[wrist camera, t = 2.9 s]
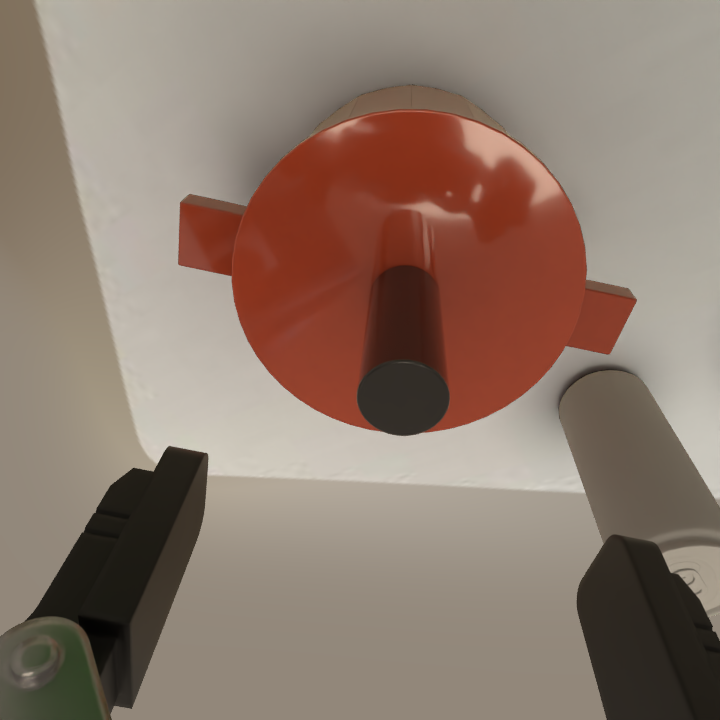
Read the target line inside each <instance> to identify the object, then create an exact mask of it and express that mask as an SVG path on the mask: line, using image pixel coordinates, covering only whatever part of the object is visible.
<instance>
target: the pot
mask: <svg viewBox="0 0 720 720" xmlns="http://www.w3.org/2000/svg"><path fill="white" fill-rule="evenodd" d="M393 107H429V108H436V109H443V110H449V111H454V112H457V113H461V114H464V115H467V116H471V117H474V118H477V119H480V120H482V121H484V122H486V123H488V124H490V125H492V126H495V127H497V128H499V129H501V130H503V131H504V132H506V130H505V129H504V128H503V127H502V126H501V125H500V124H499V123H497V122H496V121H495V120H493V119H492V118H491V117H490V116H489V115H488V114H486V113H485V112H484V111H483V110H482V109H480V108H479V107H477V106H476V105H474V104H473V103H471V102H470V101H469V100H468V99H466V98H465V97H463V96H461V95H457V94H453V93H450V92H447V91H444V90H441V89H437V88H431V87H425V86H417V85H413V84H412V85H405V86H397V87H389V88H384V89H380V90H377V91H373V92H370V93H367V94H362V95H360V96H358V97H356V98H355V99H353V100H352V101H351V102H349V103H347V104H346V105H344V106H342V107H341V108H339V109H338V110H337V111H336V112H334V113H333V114H332V115H331V116H330V117H328V118H327V119H326V120H324V121H323V122H321V123H320V124H319V125H318V126H317V127H316V129H315V130H314V132H313V133H312V134H314V133H316V132H317V131H319V130H320V129H322V128H324V127H326V126H328V125H331V124H333V123H335V122H338V121H340V120H342V119H344V118H347V117H350V116H354V115H357V114H361V113H364V112H368V111H372V110H378V109H386V108H393ZM506 133H507V132H506ZM312 134H311V135H312ZM507 134H508V133H507ZM246 208H247V206H243V205H238V204H234V203H229V202H224V201H220V200H215V199H211V198H206V197H201V196H197V195H192V194H189V195H188V196H186V197H185V198H184V199H183V200H182V201H181V202H180V224H179V257H178V264H179V265H181V266H186V267H191V268H196V269H200V270H205V271H210V272H215V273H219V274H224V275H229V276H232V256H233V250H234V243H235V238H236V235H237V231H238V228H239V225H240V222H241V218H242V216H243V214H244V212H245V210H246ZM636 301H637V299H636V298H635V296H634V295H633V294H632V292H631V291H630V290H629V289H628V288H624V287H619V286H614V285H610V284H605V283H600V282H596V281H591V280H586V287H585V294H584V299H583V303H582V308H581V312H580V315H579V317H578V320H577V323H576V325H575V328H574V331H573V333H572V335H571V337H570V339H569V341H568V342H567V344H566V346H569V347H574V348H579V349H584V350H588V351H593V352H598V353H603V354H608V355H609V354H610V353H611V351H612V349H613V347H614V345H615V343H616V341H617V339H618V337H619V335H620V333H621V331H622V329H623V327H624V325H625V323H626V321H627V319H628V317H629V315H630V313H631V311H632V309H633V307H634V305H635V304H636Z"/></svg>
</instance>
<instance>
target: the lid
mask: <svg viewBox="0 0 720 720" xmlns="http://www.w3.org/2000/svg"><path fill="white" fill-rule="evenodd" d="M586 273H587V265H586V252H585V244H584V240H583V236H582V231H581V227H580V224H579V221H578V219H577V216H576V214H575V211H574V209H573V206H572V204H571V202H570V200H569V198H568V197H567V195H566V193H565V192H564V190H563V188H562V187H561V185H560V183H559V182H558V180H557V179H556V178H555V177H554V176H553V174H552V173H551V172H550V171H549V169H548V168H547V167H546V166H545V165H544V163H543V162H542V161H541V160H540V159H539V158H538V157H537V156H536V155H535V154H533V153H532V152H531V151H530V150H529V149H528V148H527V147H526V146H525V145H523V144H522V143H521V142H519V141H518V140H516V139H515V138H513V137H512V136H510V135H509V134H507V133H506V132H504V131H503V130H501V129H499V128H497V127H495V126H492V125H490V124H488V123H486V122H484V121H482V120H480V119H477V118H474V117H471V116H467V115H464V114H461V113H457V112H454V111H449V110H443V109H436V108H429V107H393V108H386V109H378V110H372V111H368V112H364V113H361V114H357V115H354V116H350V117H347V118H344V119H342V120H340V121H338V122H335V123H333V124H331V125H328V126H326V127H324V128H322V129H320V130H319V131H317V132H316V133H314V134H312V135H311V136H309V137H307V138H306V139H304V140H303V141H301V142H300V143H299V144H298V145H296V146H295V147H294V148H293V149H292V150H290V151H289V152H288V153H287V154H286V155H284V156H283V157H282V158H281V159H280V161H279V162H278V163H277V164H276V165H275V166H274V167H273V168H272V169H271V171H270V172H269V173H268V174H267V175H266V176H265V178H264V179H263V181H262V182H261V184H260V185H259V187H258V188H257V190H256V191H255V193H254V194H253V196H252V197H251V199H250V201H249V203H248V206H247V208H246V210H245V212H244V214H243V216H242V218H241V222H240V225H239V228H238V231H237V235H236V238H235V243H234V250H233V256H232V288H233V295H234V302H235V306H236V310H237V313H238V317H239V321H240V323H241V326H242V328H243V330H244V333H245V335H246V337H247V340H248V342H249V343H250V345H251V347H252V348H253V350H254V352H255V354H256V355H257V357H258V358H259V360H260V361H261V362H262V364H263V365H264V366H265V367H266V369H267V370H268V371H269V373H270V374H271V375H272V376H273V377H274V378H275V379H276V380H277V381H278V382H279V383H280V384H281V385H282V386H283V387H284V388H285V389H287V390H288V391H289V392H290V393H292V394H293V395H294V396H295V397H297V398H298V399H299V400H301V401H302V402H304V403H305V404H307V405H309V406H310V407H312V408H313V409H315V410H317V411H319V412H321V413H323V414H325V415H327V416H329V417H331V418H333V419H336V420H339V421H341V422H344V423H347V424H350V425H353V426H357V427H361V428H365V429H369V430H375V431H382V432H385V433H388V434H392V435H398V436H409V435H416V434H419V433H425V432H433V431H440V430H446V429H450V428H454V427H458V426H462V425H465V424H469V423H471V422H474V421H476V420H479V419H481V418H484V417H487V416H489V415H490V414H492V413H494V412H496V411H498V410H500V409H502V408H504V407H506V406H507V405H509V404H510V403H512V402H513V401H515V400H516V399H518V398H519V397H521V396H522V395H523V394H524V393H525V392H527V391H528V390H529V389H530V388H531V387H532V386H534V385H535V384H536V383H537V382H538V381H539V380H540V379H541V378H542V377H543V376H544V375H545V373H546V372H547V371H548V370H549V369H550V368H551V367H552V365H553V364H554V363H555V361H556V360H557V358H558V357H559V356H560V354H561V353H562V351H563V350H564V348H565V346H566V344H567V342H568V341H569V339H570V337H571V335H572V333H573V331H574V328H575V325H576V323H577V320H578V317H579V315H580V312H581V308H582V303H583V299H584V294H585V287H586Z"/></svg>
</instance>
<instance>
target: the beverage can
mask: <svg viewBox="0 0 720 720" xmlns="http://www.w3.org/2000/svg"><path fill="white" fill-rule="evenodd" d="M559 418H560V421H561V424H562V426H563V429H564V432H565V435H566V438H567V441H568V444H569V446H570V449H571V452H572V455H573V458H574V461H575V463H576V466H577V469H578V472H579V475H580V478H581V481H582V483H583V486H584V489H585V492H586V495H587V498H588V501H589V503H590V506H591V509H592V512H593V515H594V517H595V520H596V523H597V526H598V529H599V532H600V535H601V537H602V540H603V543H605V542H606V540H607V539H608V538H609V537H610V536H611V535H613V534H617V535H622V536H627V537H632V538H638V539H643V540H648V541H652V542H654V543H655V544H657V546H658V547H659V549H660V550H661V553H662V555H663V557H664V559H665V561H666V564H667V566H668V568H669V570H670V573H675V574H679V575H680V577H681V578H682V579H683V580H684V581H685V583H686V584H687V585H688V586H689V587H690V588H691V590H692V591H693V592H694V593H695V594H696V596H697V597H698V598H699V599H700V601H701V603H702V605H703V607H704V609H705V611H706V613H707V616H708V618H710V617H712V616H715V615H718V614H720V507H719V505H718V504H717V502H716V500H715V499H714V497H713V495H712V494H711V492H710V490H709V489H708V487H707V485H706V484H705V482H704V480H703V479H702V477H701V475H700V474H699V472H698V470H697V469H696V467H695V465H694V464H693V462H692V460H691V459H690V457H689V455H688V454H687V452H686V450H685V449H684V447H683V446H682V444H681V442H680V441H679V439H678V437H677V436H676V434H675V432H674V431H673V429H672V427H671V426H670V424H669V423H668V421H667V419H666V418H665V416H664V414H663V413H662V411H661V409H660V408H659V406H658V404H657V403H656V401H655V399H654V398H653V396H652V394H651V393H650V391H649V389H648V388H647V386H646V385H645V384H644V382H643V381H642V380H640V379H639V378H637V377H636V376H635V375H633V374H630V373H627V372H624V371H615V370H606V371H598V372H595V373H592V374H589V375H586V376H584V377H583V378H581V379H579V380H577V381H576V382H575V383H574V384H573V385H572V386H571V387H570V388H568V390H567V391H566V393H565V394H564V396H563V397H562V399H561V403H560V406H559Z"/></svg>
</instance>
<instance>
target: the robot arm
mask: <svg viewBox="0 0 720 720" xmlns="http://www.w3.org/2000/svg"><path fill="white" fill-rule="evenodd" d="M207 471H208V454H207V453H203V452H197V451H192V450H187V449H182V448H177V447H172V446H169V447H167V449H166V450H165V452H164V453H163V455H162V457H161V459H160V461H159V463H158V465H157V466H156V468H155V470H154V472H152V471H147V470H142V469H137V468H133V469H132V470H130V471H129V472H128V473H126V474H125V475H124V476H122V477H121V478H120V479H119V480H117V481H116V482H114V483H113V484H112V485H111V486H110V487H109V489H108V491H107V492H106V494H105V496H104V497H103V499H102V501H101V502H100V504H99V506H98V507H97V510H96V513H94V514H93V515H92V517H91V519H90V521H89V522H88V524H87V525H86V527H85V531H84V533H82V534H81V535H80V537H79V539H78V540H77V542H76V544H75V545H74V547H73V549H72V550H71V552H70V554H69V555H68V557H67V558H66V560H65V562H64V563H63V565H62V567H61V568H60V570H59V572H58V574H57V576H56V577H55V578H54V580H53V582H52V583H51V585H50V587H49V588H48V590H47V592H46V593H45V595H44V597H43V598H42V600H41V601H40V603H39V605H38V606H37V608H36V609H35V611H34V612H33V613H32V614H31V615H30V616H29V617H28V618H27V620H25V622H23V623H21V624H18V625H17V626H15V627H13V628H11V629H10V630H8V631H7V632H5V633H4V634H3V635H1V636H0V720H112V719H111V716H110V714H111V712H112V709H113V707H114V706H119V707H126V708H131V709H132V707H133V704H134V702H135V699H136V696H137V694H138V691H139V689H140V686H141V683H142V681H143V678H144V676H145V673H146V670H147V668H148V665H149V663H150V660H151V658H152V655H153V652H154V650H155V647H156V645H157V642H158V639H159V637H160V634H161V632H162V629H163V626H164V624H165V621H166V619H167V616H168V614H169V611H170V608H171V606H172V603H173V601H174V598H175V595H176V593H177V590H178V588H179V585H180V583H181V580H182V577H183V575H184V572H185V570H186V567H187V564H188V562H189V559H190V557H191V554H192V551H193V548H194V546H195V544H196V541H197V538H198V535H199V532H200V529H201V525H202V520H203V515H204V509H205V498H206V484H207ZM577 610H578V615H579V619H580V623H581V626H582V630H583V633H584V637H585V641H586V644H587V648H588V652H589V656H590V659H591V663H592V667H593V670H594V674H595V678H596V681H597V685H598V689H599V692H600V696H601V700H602V703H603V707H604V711H605V714H606V718H607V720H720V641H719V638H718V637H717V634H716V632H713V631H712V627H713V626H712V624H711V622H710V620H709V618H708V616H707V613H706V611H705V609H704V607H703V605H702V603H701V601H700V599H699V598H698V597H697V596H696V594H695V593H694V592H693V591H692V590H691V588H690V587H689V586H688V585H687V584H686V583H685V581H684V580H683V579H682V578H681V577H680V575H679V574H675V573H670V570H669V568H668V566H667V564H666V561H665V559H664V557H663V555H662V553H661V550H660V549H659V547H658V546H657V544H655V543H654V542H652V541H648V540H643V539H638V538H632V537H627V536H622V535H617V534H613V535H611V536H610V537H609V538H608V539H607V540H606V542H605V543H604V545H603V546H602V548H601V550H600V551H599V553H598V554H597V556H596V558H595V559H594V561H593V562H592V564H591V566H590V567H589V569H588V570H587V572H586V574H585V575H584V577H583V578H582V580H581V582H580V585H579V588H578V592H577Z"/></svg>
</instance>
